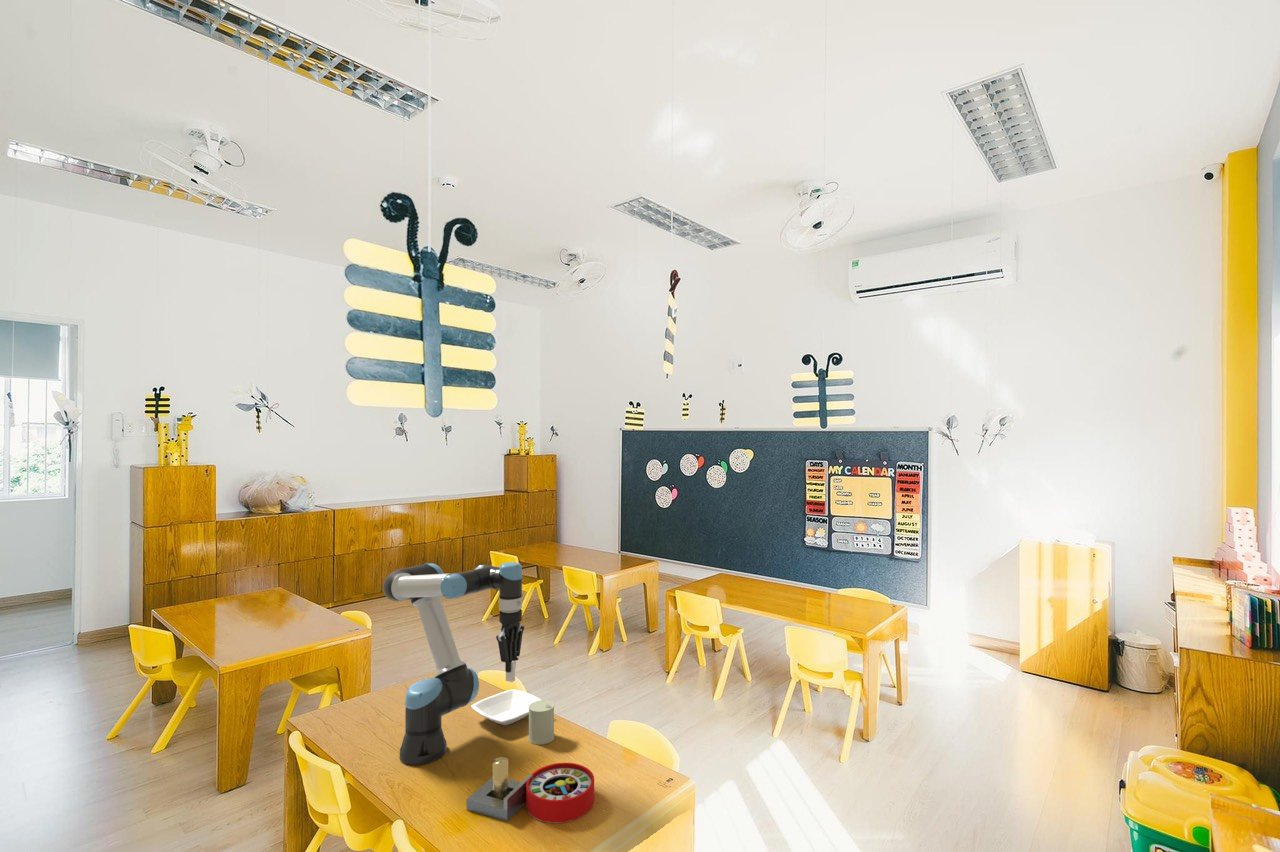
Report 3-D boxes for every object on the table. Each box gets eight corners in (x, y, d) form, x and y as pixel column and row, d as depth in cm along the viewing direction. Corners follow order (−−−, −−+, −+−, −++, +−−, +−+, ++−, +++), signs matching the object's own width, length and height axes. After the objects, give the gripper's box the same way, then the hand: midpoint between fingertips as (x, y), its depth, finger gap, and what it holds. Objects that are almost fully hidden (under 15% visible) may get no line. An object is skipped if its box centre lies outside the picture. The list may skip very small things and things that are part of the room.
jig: (466, 809, 169) (466, 788, 169) (494, 785, 181) (494, 765, 181) (507, 821, 163) (507, 799, 163) (532, 795, 175) (532, 775, 176)
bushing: (502, 808, 169) (502, 766, 169) (489, 805, 171) (489, 763, 171) (511, 799, 173) (511, 758, 174) (498, 796, 175) (498, 755, 175)
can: (549, 746, 204) (549, 711, 205) (524, 743, 206) (524, 709, 206) (558, 733, 213) (558, 700, 214) (534, 730, 215) (534, 697, 215)
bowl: (465, 721, 223) (465, 705, 223) (514, 700, 241) (514, 686, 241) (499, 740, 208) (500, 724, 209) (550, 717, 226) (550, 702, 226)
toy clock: (582, 756, 186) (603, 790, 167) (582, 775, 186) (603, 811, 167) (519, 771, 178) (534, 808, 159) (519, 790, 178) (534, 830, 159)
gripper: (508, 616, 189) (508, 689, 188) (531, 605, 201) (530, 675, 200) (489, 613, 192) (489, 686, 191) (512, 603, 204) (512, 671, 203)
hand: (510, 680), depth 196 cm, fingers closed
